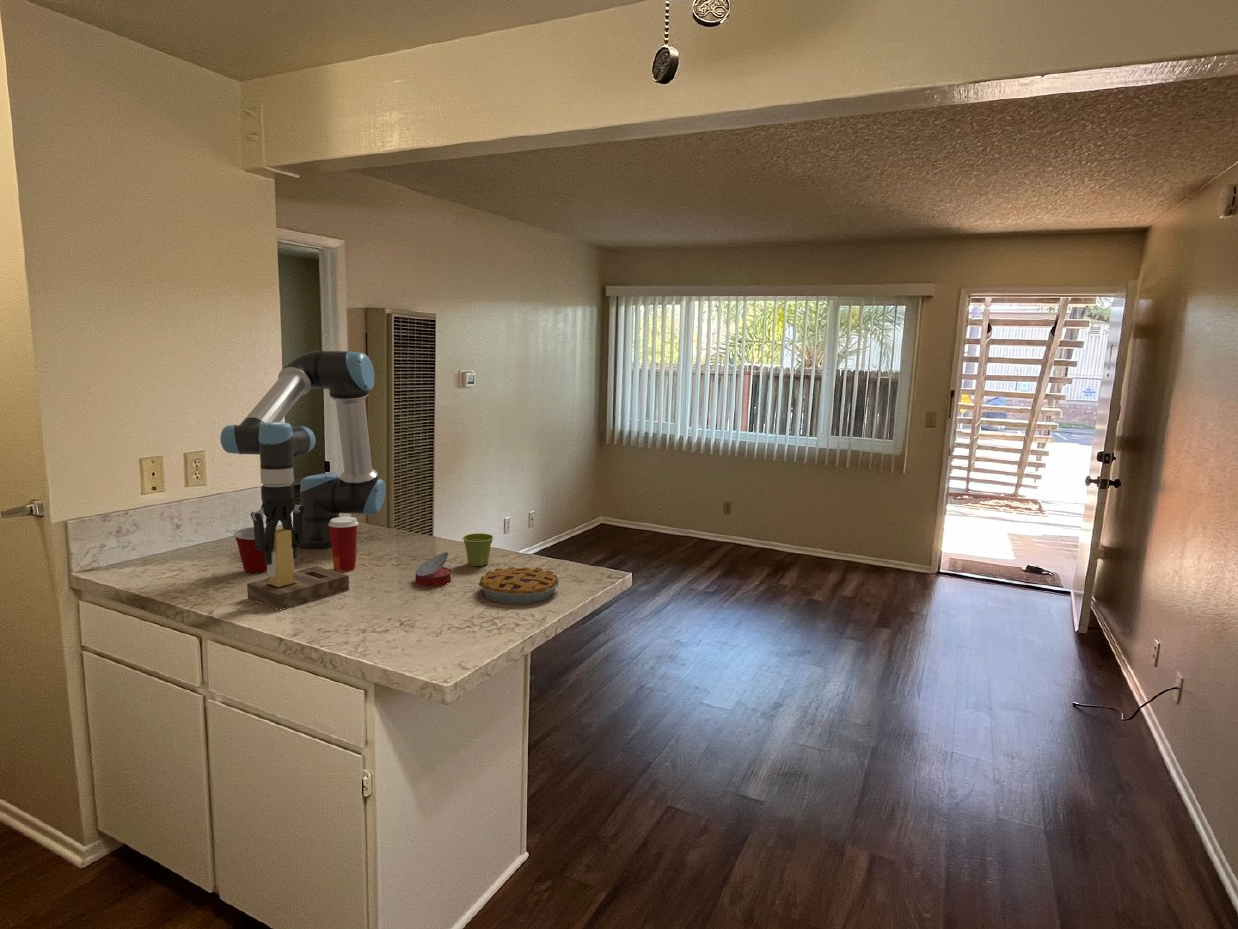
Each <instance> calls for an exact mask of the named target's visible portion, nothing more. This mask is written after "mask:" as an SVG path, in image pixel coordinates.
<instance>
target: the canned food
mask: <svg viewBox="0 0 1238 929" xmlns="http://www.w3.org/2000/svg"><path fill="white" fill-rule="evenodd" d="M448 556H449V553H448V551H445V552H441V553H439V554H437V555H435V556H434V557H432V558H430V559H428V560H427V561H425V562H424V563H422V564H421V565H419V566H418V568H417V569H416V571H415V584H416V585H417V584H418V586H420V587H426V588H436V587H437V588H438V587H443V586H446V585H445V584H447V583H449V584H450V583H451V582H452V570H451V569H450V568H448V567H444V565H445V564H446V562H447V559H448ZM442 585H443V586H442ZM447 585H448V584H447Z"/></svg>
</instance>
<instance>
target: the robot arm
mask: <svg viewBox="0 0 1238 929" xmlns="http://www.w3.org/2000/svg"><path fill="white" fill-rule="evenodd" d="M375 378H376V376H375V370H374V365H373V363H372V361H371V360H370V358H369V356H368V355H366V354H365V353H363V352H357V351H356V352H355V351H345V350H343V351H340V350H336V351H334V350H314V351H313V350H311V351H309V352H308V351H307V352H306V353H304V354H301V355H299V356H297V357H296V358H294V359H292V360H290V361H289V362H288V363H287V364H286V365H285V366H284V367H283V368H282V369H281V370H280V371H279V372H278V377H277V381H276V382H275V383H274V384H273V385H272V386H271V388H269V390H268V391H267V392H266V393H265V394H264V396H263V397H262V398H261V399H260V401H259V402H258V403H257V404H256V405H255V406H254V407H253V409H252V410H251V411H250V412H249V413H248V415H247V416H246V417H245V418H244V419H243V420H242V421H241V422H240V424H238V425H237V424H232V425H231V424H229V425H226V426H225V427H224V428H223V429H222V430H221V433H220V436H219V437H220V439H219V440H220V445H221V447H222V449H223V451H224V452H226V453H228V454H237V455H241V456H242V455H259V463H260V464H259V467H260V471H259V472H260V483H261V484H262V485H261V487H260V494H261V495H260V496H261V498H260V499H261V501H262V504H261V507H260V509H259V510H257V511H251V513H250V517H251V520H252V521H253V527H254V535H255V548H256V550H259V551H263V552H264V563H265V564H267V571H266V572H267V573H266V574H267V576H268V577H269V576H271V577H276V552H274V551H272V550H273V544H274V537H275V531H276V529H277V526H278V525H279V522H280V523H281V526H282V528H283V529H286V530H291V539H292V568H293V572H295V571H294V569H295V568H294V567H295V566H294V560H295V559H296V556H297V554H296V553H297V552H296V551H297V549H298V547H299V548H302V549H310V550H312V549H313V550H315V549H329V548H332V545H331V534H330V526H329V525H328V524H329V523H330V521H331V519H333V518H338V517H340V514H346V515H363V516H365V515H366V516H367V515H375V514H378V513H379V512H380V510H381V509H382V507H383V505H384V502H385V498H386V491H387V490H386V489H387V488H386V486H387V485H386V482H385V481H384V480H383V479H381V478H379V475H378V471H376V470H375V469H374V468H373V466H372V464H373V463H372V457H371V456H372V455H371V447H370V444H371V443H370V437H369V428H368V425H369V424H368V416H367V410H366V408H367V407H366V398H367V397H368V396H369V395H370V391H371V390H372V389H373V388H374V386H375ZM314 389H316V390H317V389H322V390H323V389H324V390H328V392H329V397H330V398H331V399H332V400H334V401H335V405H336V413H337V415H336V416H337V422H338V431H339V438H340V448H341V456H342V463H343V472H342V473H341V474H340V475H339V474H338V473H337V472H327V473H320V474H319V473H318V474H314V475H308V476H304V477H303V478H302V479H301V481H300V487H299V488H300V490H299V493H300V504H296V503H295V501H294V498H295V486H294V484H293V483H294V482H295V477H294V476H295V474H294V457H298V456H303V455H306V454H307V453H309V452H311V451H313V449H314V448H315V445H316V443H317V442H316V440H317V439H316V436H315V434H314V432H313V430H311V429H310V428H309V427H306V426H303V425H301V426H300V425H295V426H292V425H291V423H288V422H282V420H283V419H284V418H285V417H286V415H287V414H289V411H291V409H292V408H293V407H294V405H295V404H296V402H297V401H298V400H299V399H300V397H301V396H304V395H307V394H308V393H309V392H310V390H314ZM292 512H293V513H292ZM291 515H292V516H291ZM264 516H265V517H264ZM264 518H265V521H264ZM264 522H265V524H264ZM264 527H266V529H265V534H264Z"/></svg>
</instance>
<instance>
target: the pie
mask: <svg viewBox="0 0 1238 929" xmlns="http://www.w3.org/2000/svg"><path fill="white" fill-rule="evenodd" d="M559 583H560V579H559V578H558V576H557V575H556V574H554V573H553V571H550V570H543V569H542V568H539V567H536V568H535V569H534V568H530V567H525V566H523V567H520V568H519V567H514V566H512V567H507V568H504V569H502V568H495V569H494V571H491V570H489V571H487V572H486V573H485V575H482V576H481V578H480V580H479V582H478V585H479V587H480V588H481V590H482V591H483V594H484V595H485V597H486V598H487V599H488V600H492V601H495V602H497V601H499V602H498V603H504V602H505V603H506V604H520V603H525V604H533V603H532V602H535V603H539V602H538V601H540V602H542V601H545V600H548V598H550V597H551V596H552V595H553V594H554V592H555V591H556V588H557V587H558V586H559V585H560V584H559ZM549 596H550V597H549Z"/></svg>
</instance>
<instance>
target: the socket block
mask: <svg viewBox="0 0 1238 929" xmlns="http://www.w3.org/2000/svg"><path fill="white" fill-rule="evenodd" d="M349 576H350V575H348V574H345V573H342V572H338V571H335V570H332V569H329V568H325V567H321V566H319V565H316V566H311V567H308V568H304V569H299V570H296V571H294V572H293V583H292V584H288V585H285V586H281V587H276V586H274V585H271V584H269V577H268V578H265V579H264V578H263V579H260V580H256V581H252V582H248V583H246V584H247V585H246V589H247V590H246V592H247V599H248V598H249V599H248V600H250V599H251V601H253V600H254V602H256V601H258V602H261V603H263V604H262V605H264V604H265V606H267V605H268V606H267V607H269V606H270V608H272V607H274V608H273V609H275V608H277V609H279V610H278V611H281V610H280V609H283V608H286V609H288V608H287V607H289V608H291V607H292V606H293V607H295V605H296V606H298V604H299V605H301V604H302V603H303V604H305V602H306V603H310V602H312V601H316V600H320V599H323V598H326V597H330V596H333V595H335V594H339V593H344V592H346V591H349V590H350V577H349ZM329 595H330V596H329ZM309 601H310V602H309ZM258 602H257V603H258ZM261 603H260V604H261ZM293 607H292V608H293ZM277 609H276V610H277ZM283 610H284V609H283Z"/></svg>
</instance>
